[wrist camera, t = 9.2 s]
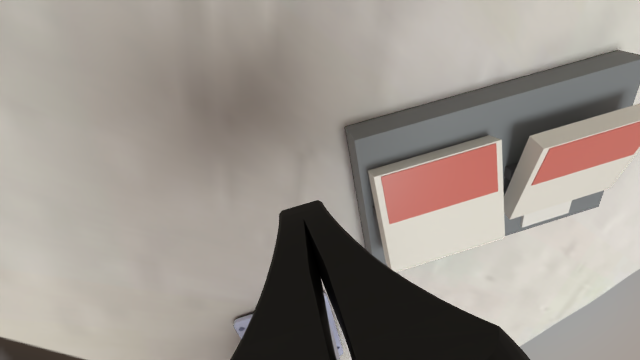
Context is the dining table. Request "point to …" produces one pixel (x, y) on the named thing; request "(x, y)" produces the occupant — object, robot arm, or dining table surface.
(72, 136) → the dining table surface
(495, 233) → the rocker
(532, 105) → the switch panel
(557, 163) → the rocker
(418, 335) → the robot arm
